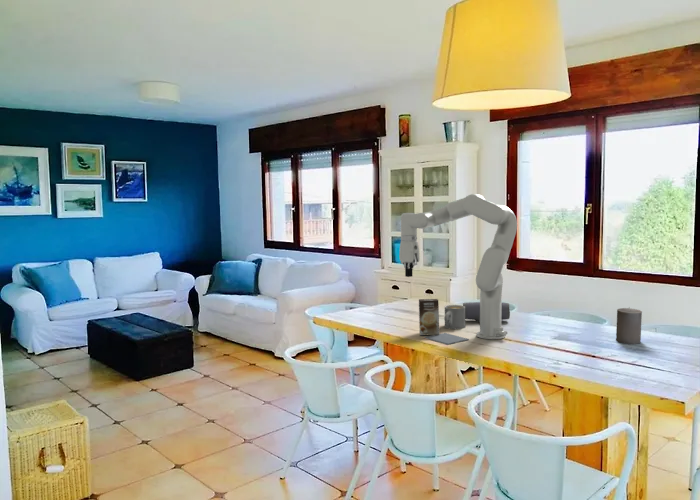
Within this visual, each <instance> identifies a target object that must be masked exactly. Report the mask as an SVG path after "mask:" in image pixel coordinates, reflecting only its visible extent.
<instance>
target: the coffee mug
mask: <svg viewBox="0 0 700 500" xmlns="http://www.w3.org/2000/svg"><path fill="white" fill-rule="evenodd" d="M443 319H444V328H446V329H449V328H450V330H462V329H465V328H466V319H465V306H463V305H459V304H448V305H445V306H444V318H443Z"/></svg>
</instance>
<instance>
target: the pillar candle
mask: <svg viewBox="0 0 700 500" xmlns="http://www.w3.org/2000/svg"><path fill="white" fill-rule="evenodd" d="M642 313H643V311H642V310H641V309H636V308H630V307H623V308H617V309H616V330H615V331H616V333H615V336H616V338H615V341H616V342H617V343H620V344H621V343H622V344H625V345H626V344H628V345H638V344H641V339H642V320H643V319H642V316H643V315H642Z"/></svg>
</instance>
